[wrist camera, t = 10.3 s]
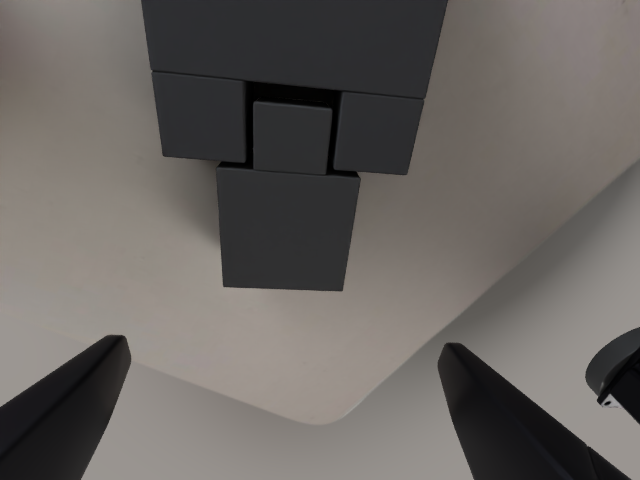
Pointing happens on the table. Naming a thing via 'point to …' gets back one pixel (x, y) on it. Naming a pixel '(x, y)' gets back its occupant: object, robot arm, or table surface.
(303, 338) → the table surface
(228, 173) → the dark gray tabbed block
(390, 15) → the dark gray pronged block
